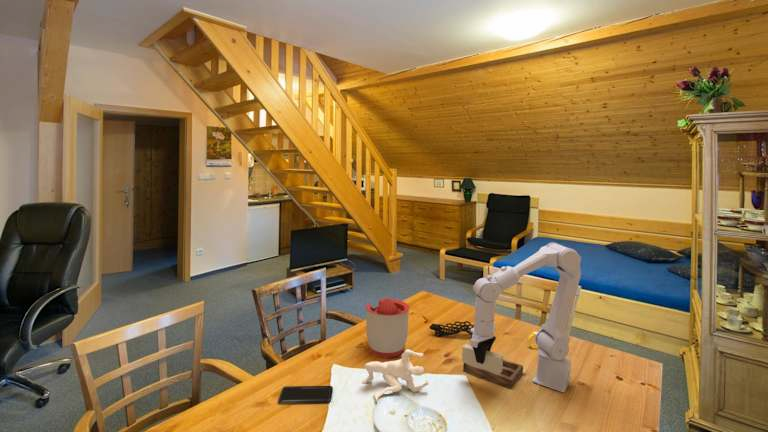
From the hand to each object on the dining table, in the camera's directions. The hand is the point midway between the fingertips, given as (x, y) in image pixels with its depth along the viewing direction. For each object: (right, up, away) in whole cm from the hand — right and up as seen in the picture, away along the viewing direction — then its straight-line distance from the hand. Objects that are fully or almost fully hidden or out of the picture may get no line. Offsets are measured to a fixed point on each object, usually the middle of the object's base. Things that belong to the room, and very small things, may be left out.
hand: (482, 360), depth 121 cm
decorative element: (-1, -4, +36) cm, 36 cm away
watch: (+27, -5, +27) cm, 38 cm away
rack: (+6, -7, +9) cm, 13 cm away
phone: (-53, -9, -5) cm, 54 cm away
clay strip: (0, -2, 0) cm, 2 cm away
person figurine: (-27, -8, -1) cm, 28 cm away
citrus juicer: (-30, -5, +23) cm, 38 cm away
